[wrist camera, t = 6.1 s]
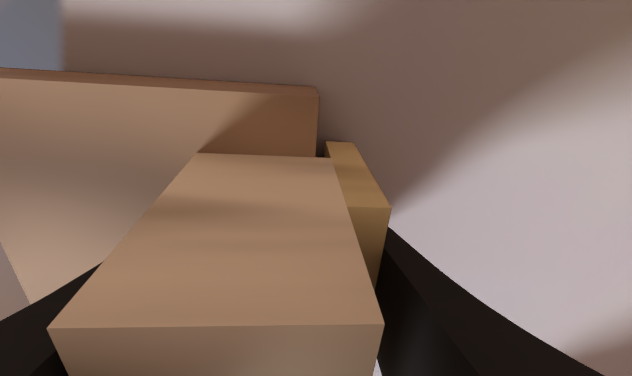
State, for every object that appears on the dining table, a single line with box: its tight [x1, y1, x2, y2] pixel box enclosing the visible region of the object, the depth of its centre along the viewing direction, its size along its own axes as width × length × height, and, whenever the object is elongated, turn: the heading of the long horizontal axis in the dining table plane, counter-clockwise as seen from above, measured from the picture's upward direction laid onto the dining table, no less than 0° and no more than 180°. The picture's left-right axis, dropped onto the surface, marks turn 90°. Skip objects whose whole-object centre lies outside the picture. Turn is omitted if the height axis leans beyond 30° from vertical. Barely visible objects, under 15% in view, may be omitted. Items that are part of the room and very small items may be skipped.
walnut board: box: [0, 67, 319, 305], centre depth 14 cm, size 22×10×2 cm, turn 176°
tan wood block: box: [46, 141, 391, 376], centre depth 8 cm, size 5×5×8 cm
